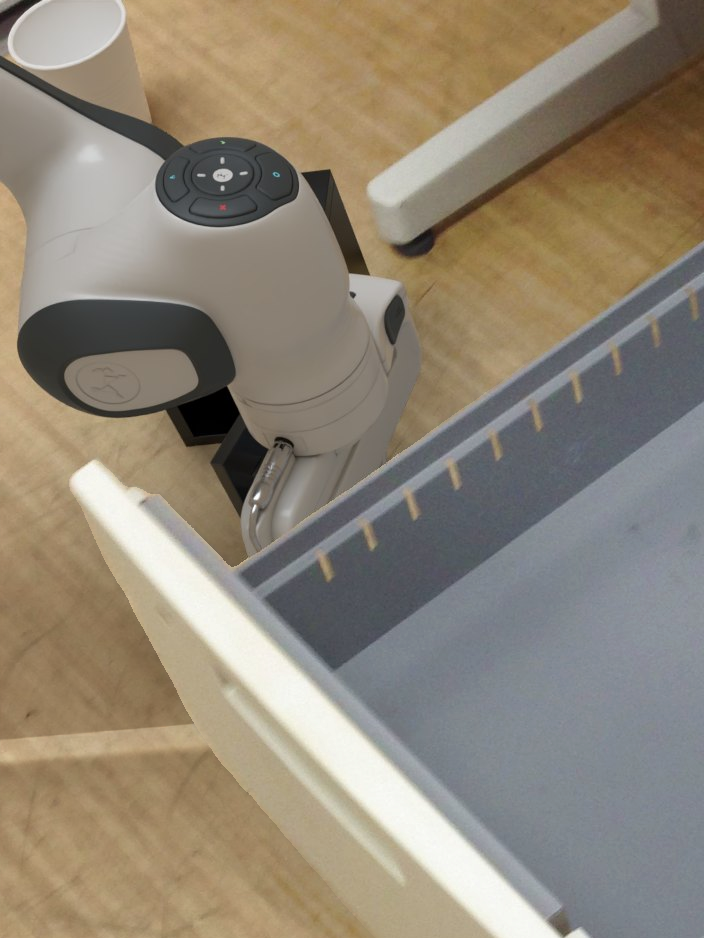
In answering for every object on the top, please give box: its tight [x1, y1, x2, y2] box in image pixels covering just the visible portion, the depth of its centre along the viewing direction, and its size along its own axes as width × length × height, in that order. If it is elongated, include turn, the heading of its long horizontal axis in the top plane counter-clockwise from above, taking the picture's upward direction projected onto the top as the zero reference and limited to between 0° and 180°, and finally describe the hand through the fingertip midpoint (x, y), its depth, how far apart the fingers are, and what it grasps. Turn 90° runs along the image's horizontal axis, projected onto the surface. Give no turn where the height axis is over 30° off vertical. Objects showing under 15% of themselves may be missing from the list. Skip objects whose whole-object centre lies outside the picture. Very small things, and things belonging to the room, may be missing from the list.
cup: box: [6, 0, 153, 125], centre depth 149 cm, size 10×10×11 cm
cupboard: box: [165, 168, 371, 448], centre depth 129 cm, size 12×14×14 cm
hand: (368, 523), depth 117 cm, fingers closed
